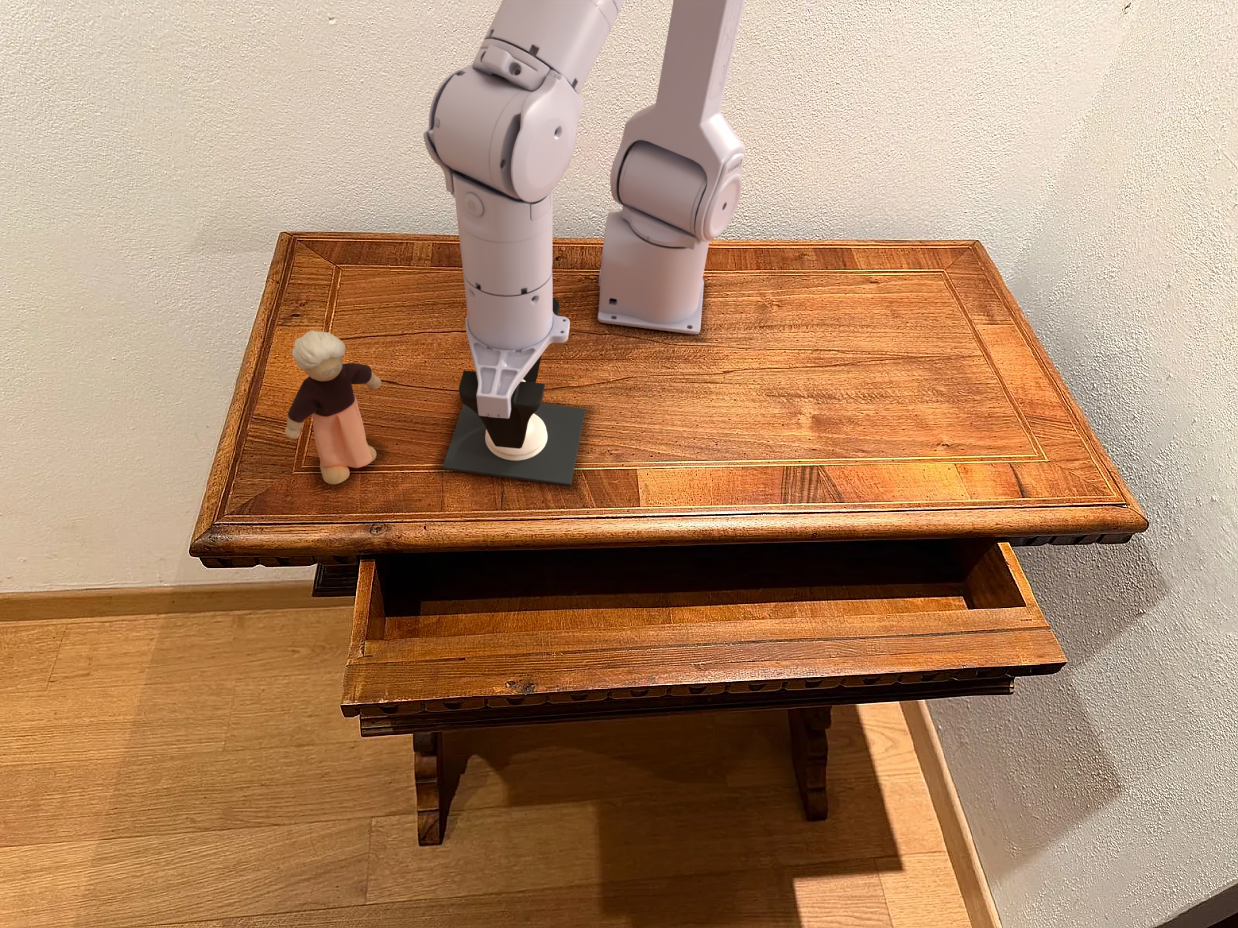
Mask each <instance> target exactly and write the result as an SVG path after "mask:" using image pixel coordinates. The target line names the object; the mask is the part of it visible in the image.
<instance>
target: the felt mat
mask: <svg viewBox="0 0 1238 928" xmlns="http://www.w3.org/2000/svg"><path fill="white" fill-rule="evenodd" d="M534 414H535V415H537V416H538V417H539V418H540V419H541V420H542V421H543V422H544V424H545V427H546V431H547V442H546V445H545V447H544V448H543V449H542V450H541V451H540V452H539V453H538V454H537V455H535V456H533V457H531V458H528V459H525V460H518V461H513V460H506V459H503V458H500V457H498V456H496V455H495V454H494V453H492V452H491V451H490V449H489V448H488V446H487V444H486V441H485V435H486V427H485V425H484V424H483V422H482V420H481V419H480V417H479V416H478V415H477V414H476V413H475V412H474V411H473V410H472V409H471V408H469V407H468V406H466V405H465V404H463V403H462V407H461V410H460V412H459V416H458V419H457V422H456V425H455V428H454V431H453V433H452V437H451V439H450V443H449V446H448V449H447V452H446V455H445V457H444V461H443V465H442V470H444V471H451V472H452V471H453V472H460V473H465V474H467V473H469V474H473V475H474V474H475V475H481V476H489V477H490V476H491V477H497V478H504V479H512V480H513V479H514V480H521V481H529V482H536V483H543V484H551V485H557V486H565V487H566V486H567V487H571V486H572V482H573V477H574V472H575V468H576V467H575V466H576V461H577V457H578V452H579V446H580V441H581V435H582V430H583V425H584V420H585V416H586V415H585V414H586V408H582V407H576V406H575V407H574V406H566V405H560V404H551V403H543V402H541V404H540V406H539V408H538V410H537V411H536V412H535V413H534Z"/></svg>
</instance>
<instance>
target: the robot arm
mask: <svg viewBox="0 0 1238 928" xmlns="http://www.w3.org/2000/svg"><path fill="white" fill-rule="evenodd" d="M624 3H625V0H501V3H500V5H499V7H498V9H497V11H496V13H495V16H493V17H494V18H493V19H492V22H491V24H490V25H489V28H488V30H487V32H486V34H485V37H484V39H483V40H482V42H481V44H480V47H479V49H478V51H477V53H476V55H475V57H474V59H473V61H472V64H469V65H466V66H464V67H462V68H461V69H458V70H455V71H454V72H451V73H450V74H449V75H447V77H445V78H444V79H443V80H442V82H441V83H440V85H439V86H438V87H437V89H436V92H435V93H434V96H433V98H432V101H431V104H430V108H429V112H428V113H429V115H428V127H427V128H426V130H425V131H423V142H424V145H425V148H426V150H427V153H428V155H429V156H430V158H431V159H432V161H433V162H434V163H435V164H436V165H438V166H439V167H440V168H441V170H442V171H443V175H444V180H445V189H446V191H447V192H449V194H450V195H452V197H453V198H454V201H455V202H454V203H455V211H456V220H457V228H458V239H459V248H460V258H461V266H462V267H461V268H462V275H463V276H462V277H463V285H464V294H465V304H466V316H465V323H464V324H465V333H466V337H467V341H468V346H469V350H470V354H471V358H472V362H473V366H474V370H465V369H464V370H463V372H462V374H461V378H460V381H459V385H458V392H459V398H460V401H461V403H462V405H463V404H465V405H466V406H468V407H469V408H471V409H472V410H473V411H474V412H475V413H476V414H477V415H478V416H479V417H480V419H481V420H482V422H483V424H484V425H485V427H486V429H487V431H488V433H489V436H490V438H491V440H492V441H493V443H494V445H495V446H497V447H507V448H517V449H520V448H522V446H523V443H524V440H525V436H526V431H527V426H528V422H529V419H530V418H531V416H532V415H533V414H534V413H535V412H536V411H537V410H538V408H539V406H540V404H541V403H543V399H544V393H545V389H546V383H540V382H537V379H538V377H539V376H538V375H539V370H540V365H541V360H542V355H543V353H544V352H545V351H546V349H547V348H548V347H549V345H551V344H553V343H555V344H564V343H566V342H567V341H568V340H569V335H570V328H571V320H570V319H569V318H568V317H566V316H562V315H560V302H559V301H558V300H557V299H556V298H554V296H553V295H554V294H553V293H554V287H553V281H554V280H553V276H554V275H553V274H554V273H553V269H554V268H553V261H554V260H553V257H554V255H553V253H554V251H553V249H554V247H553V241H554V240H553V237H554V236H553V234H554V233H553V232H554V231H553V224H554V223H553V219H554V218H553V215H554V212H553V211H554V210H553V205H554V204H553V202H554V201H553V200H554V198H553V196H554V195H553V194H554V193H553V191H554V189H556V187H557V186H558V185H559V183H560V181H561V180H562V179H563V176H564V175H565V173H566V171H567V170H568V169H569V166H570V164H571V162H572V158H573V155H574V151H575V147H576V141H577V131H578V125H579V121H580V118H581V116H582V114H583V107H584V106H585V105H584V103H585V102H584V101H583V100H582V98H581V97H580V93H581V91H582V90H583V87H584V85H585V83H586V81H587V79H588V77H589V76H590V73H591V72H592V69H593V67H594V65H595V63H596V61H597V59H598V57H599V55H600V53H601V51H602V48H603V47H604V45H605V43H606V41H607V38H608V37H609V34H610V32H611V31H612V28H613V26H614V24H615V22H616V21H617V18H618V16H619V13H620V12H621V10H622V8H623V6H624ZM745 4H746V0H673V1H672V8H671V13H670V19H669V23H668V31H667V35H666V42H665V47H664V55H663V58H662V64H661V70H660V77H659V81H658V87H657V92H656V93H657V94H656V100H655V103H653V104H651V105H648V106H647V107H644V108H642V109H640V110H639V111H637V112H636V113H634V115H632V116H631V117H630V118H629V119H628V120H627V121H626V122H625V124H624V128H623V131H622V132H623V133H622V137H621V141H620V143H619V144H620V145H619V146H618V150H617V152H616V154H615V156H614V158H613V161H612V164H611V168H610V174H609V186H610V192H611V196H612V199H613V200H614V202H615V203H617V204H619V205H620V206H622V209H621V210H610V211H608V213H607V216H606V217H607V218H606V222H605V229H604V233H603V234H604V235H603V242H602V253H601V266H600V269H599V275H598V287H599V298H598V300H599V302H598V313H597V321H598V322H599V323H602V324H608V325H609V324H611V325H617V326H625V327H633V328H642V329H648V330H658V331H666V332H671V333H681V334H688V335H699V334H700V332H701V326H702V312H703V298H704V288H705V287H704V286H705V280H704V273H705V269H706V263H707V258H708V251H709V245H710V242H711V241H712V240H714V239H716V238H718V237H720V235H722V233H724V231H725V230H726V229H727V227H728V226H729V224H730V223H731V221H732V219H733V217H734V215H735V213H736V210H737V208H738V206H739V202H740V200H741V195H742V191H743V181H742V177H743V176H742V175H743V167H744V162H745V154H746V150H747V149H746V146H745V144H744V143H743V141H742V140H741V138H740V137H739V135H738V134H737V132H735V130H734V129H733V127H732V126H731V124H730V123H729V122H728V120H727V119H726V117H725V116H724V114H723V113H722V110H721V109H722V104H723V99H724V94H725V91H726V86H727V83H728V77H729V74H730V69H731V64H732V60H733V55H734V51H735V47H736V44H737V43H736V42H737V38H738V34H739V29H740V25H741V21H742V16H743V12H744V8H745ZM522 379H523V380H525V381H526V382H522V381H521V380H522Z"/></svg>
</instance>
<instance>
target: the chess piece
mask: <svg viewBox="0 0 1238 928" xmlns="http://www.w3.org/2000/svg"><path fill="white" fill-rule="evenodd" d="M521 381H522V382H526V381H525V380H523V379H522V380H521ZM485 441H486V444H487V446H488V448H489V449H490V451H491V452H492V453H494V454H495V455H496V456H498V457H500V458H503V459H506V460H513V461H518V460H525V459H528V458H531V457H533V456H535V455H537V454H538V453H539V452H540V451H541V450H542V449H543V448H544V447H545V445H546V442H547V431H546V427H545V424H544V422H543V421H542V420H541V419H540V418H539V417H538V416H537V415H535V414H533V415H532V416H531V418H530V419H529V422H528V426H527V431H526V436H525V440H524V443H523V446H522V448H520V449H517V448H507V447H497V446H495V445H494V443H493V441H492V440H491V438H490V436H489V433H488V431H487V429H486V435H485Z"/></svg>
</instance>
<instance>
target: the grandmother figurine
mask: <svg viewBox="0 0 1238 928" xmlns="http://www.w3.org/2000/svg"><path fill="white" fill-rule="evenodd" d="M346 348H347V347H346V345H345V343H344V342H343V341H342V340H341V339H340V338H338V337H337V336H335V335H334V334H332V333H331V332H326V331H322V330H321V331H320V330H319V331H318V330H310V331H307V332H306V333H304V334H303V335H302V336H301V337H299V338H297V339H295V341H294V345H293V349H292V351H291V355H292V358H293V359H294V362H295V363H296V365H297V368H298V369H300V370H303V371H304V372H305V374H306V375H307V377H306V378H305V379H304V380H303V381H302V383H301V385H300V387H299V388H298V390H297V393H296V395H295V396H294V399H293V401H292V403H291V405H290V407H289V409H288V412H287V421H286V427H285V429H284V435H285V436H286V437H287V439H290V440H296V439H298V438H299V437H300V435H301V428H303V425H304V422H305V420H306V419H308V418H309V417H310V416H311V417H312V426H313V434H314V443H315V446H316V447H315V448H316V450H317V453H318V457H319V462H320V463H319V469H320V472H321V476H322V479H323V481H324V483H326V484H329V485H338V484H341V483H343V482H345V481H346V480H347V479H349V477H350V473H351V472H350V469H349V468H354V469H359V468H362V467H366V466H368V465H369V464H371V463H372V462H374V461H375V459H376V458H377V451H376V449H375V448H374V447H373V446H371V445H369V444H368V441H367V436H366V429H365V426H364V422H363V418H362V415H361V412H360V408H359V403H358V399H357V397H356V395H355V394H354V389H353V385H366V386H367V387H368V388H369V389H370V390H378V389H379V388H380V387H381V385H382V380H381V378H380V377H378V376H377V375H376V374H375V373H374V372H373V371H372V368H371V366H370V365H368V364H362V363H358V362H347V363H346V362H345V363H343V361H344V360H343V357H344V355H345V353H346V350H347V349H346Z"/></svg>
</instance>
